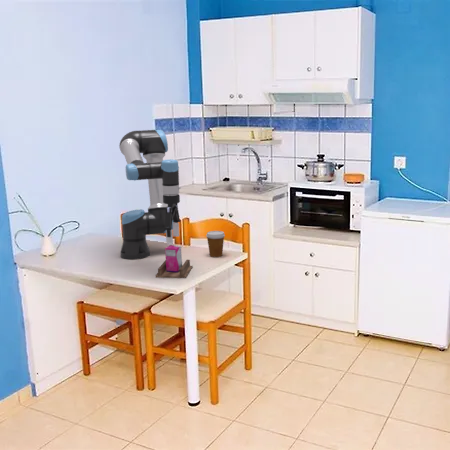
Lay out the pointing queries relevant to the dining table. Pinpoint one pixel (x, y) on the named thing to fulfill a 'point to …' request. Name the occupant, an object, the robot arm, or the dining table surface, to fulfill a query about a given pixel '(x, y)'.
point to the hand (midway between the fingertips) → (173, 239)
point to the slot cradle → (181, 274)
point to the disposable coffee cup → (215, 243)
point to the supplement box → (173, 258)
